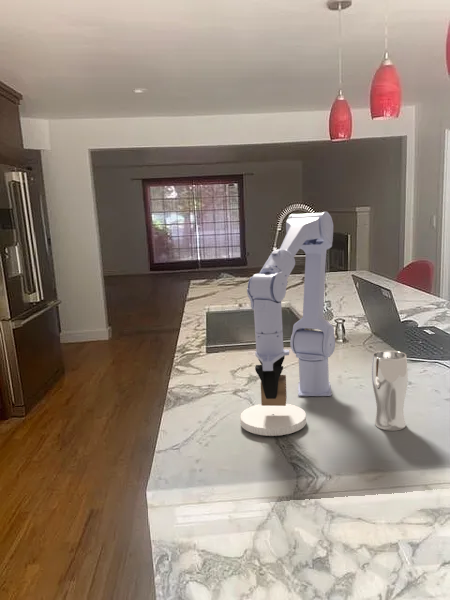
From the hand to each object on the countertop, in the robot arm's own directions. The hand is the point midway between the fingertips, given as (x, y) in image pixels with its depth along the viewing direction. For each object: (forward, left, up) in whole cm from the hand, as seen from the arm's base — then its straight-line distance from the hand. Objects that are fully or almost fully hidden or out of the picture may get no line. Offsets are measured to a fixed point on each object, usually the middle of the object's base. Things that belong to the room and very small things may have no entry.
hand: (272, 393), depth 105 cm
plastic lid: (0, 0, -8) cm, 8 cm away
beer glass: (0, +24, -7) cm, 25 cm away
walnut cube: (0, 0, -2) cm, 2 cm away
